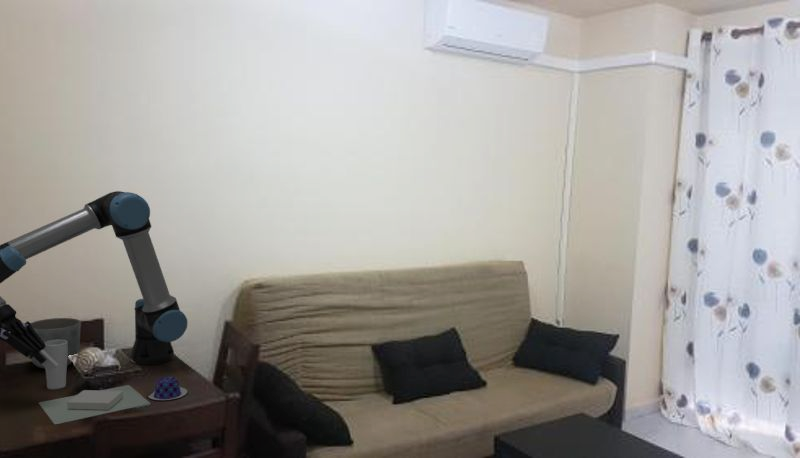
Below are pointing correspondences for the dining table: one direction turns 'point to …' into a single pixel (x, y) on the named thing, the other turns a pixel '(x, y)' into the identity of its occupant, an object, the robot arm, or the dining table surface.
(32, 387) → the dining table surface
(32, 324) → the planter
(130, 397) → the rubber mat
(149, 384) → the dining table surface
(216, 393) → the dining table surface
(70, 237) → the robot arm
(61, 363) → the drinking glass
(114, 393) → the ceramic tile
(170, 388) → the pudding
